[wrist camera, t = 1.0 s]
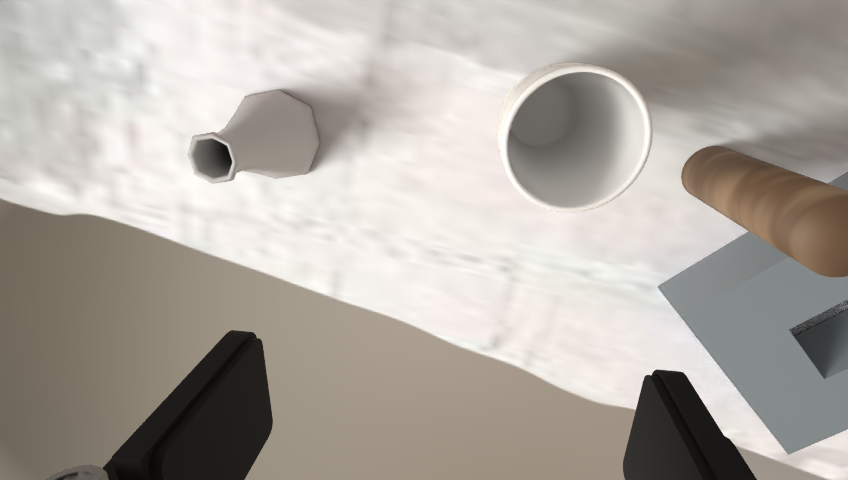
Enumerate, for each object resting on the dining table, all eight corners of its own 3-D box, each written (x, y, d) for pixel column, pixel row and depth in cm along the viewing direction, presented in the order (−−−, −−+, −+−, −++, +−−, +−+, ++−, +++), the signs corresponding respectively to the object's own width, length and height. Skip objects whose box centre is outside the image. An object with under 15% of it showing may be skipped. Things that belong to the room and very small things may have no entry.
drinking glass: (543, 172, 36) (581, 241, 22) (474, 121, 35) (469, 159, 21) (604, 99, 33) (690, 126, 20) (531, 42, 33) (568, 28, 19)
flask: (323, 96, 36) (268, 108, 27) (318, 184, 39) (267, 223, 29) (236, 82, 36) (151, 89, 27) (237, 170, 39) (160, 204, 30)
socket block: (857, 166, 33) (918, 182, 28) (950, 318, 36) (1019, 355, 32) (657, 286, 38) (681, 317, 34) (754, 410, 41) (788, 454, 37)
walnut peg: (721, 134, 33) (872, 180, 20) (749, 176, 34) (911, 245, 21) (671, 169, 35) (783, 233, 22) (698, 208, 36) (823, 292, 23)
